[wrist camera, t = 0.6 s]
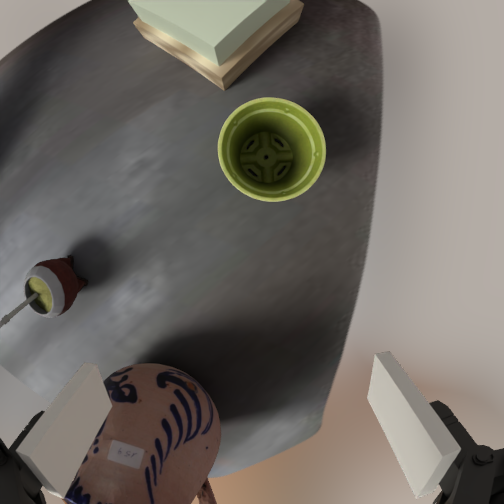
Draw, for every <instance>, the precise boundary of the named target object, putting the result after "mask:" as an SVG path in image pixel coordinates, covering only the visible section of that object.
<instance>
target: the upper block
mask: <svg viewBox="0 0 504 504" xmlns="http://www.w3.org/2000/svg"><path fill="white" fill-rule="evenodd" d="M128 2H129V4H130V5H131V6H132V8H133V9H134V11H135V12H136V13H137V15H138V16H139V18H140V19H141V20H142V21H143V22H145V23H147V24H148V25H150V26H152V27H154V28H156V29H158V30H160V31H161V32H163V33H165V34H167V35H168V36H170V37H172V38H174V39H175V40H177V41H179V42H181V43H182V44H184V45H186V46H187V47H189V48H191V49H192V50H194V51H195V52H197V53H199V54H200V55H202V56H203V57H205V58H206V59H208V60H210V61H211V62H213V63H214V64H216V65H217V66H220V65H221V64H222V63H223V62H224V61H225V60H226V59H227V58H228V57H229V56H230V55H231V54H232V53H233V52H234V51H235V50H236V49H237V48H238V47H239V46H240V45H242V44H243V43H244V42H245V41H246V40H247V39H248V38H249V37H250V36H251V35H252V34H253V33H254V32H256V31H257V30H258V29H259V28H260V27H261V26H262V25H263V24H265V23H266V22H267V21H268V20H269V19H270V18H272V17H273V16H274V15H275V14H276V13H278V12H279V11H280V10H281V9H282V8H284V7H285V6H286V5H287V4H289V3H290V0H129V1H128Z"/></svg>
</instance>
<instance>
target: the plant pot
mask: <svg viewBox="0 0 504 504" xmlns="http://www.w3.org/2000/svg"><path fill="white" fill-rule="evenodd" d="M274 139H278V140H280V141H281V142H282V143H283V145H284V147H281V146H280V144H279V143H277V142H276V141H274ZM253 140H254V141H255V142H254V143H253V144H252V145H251V146H250V147H249V148H248V150H247V149H246V147H247V145H248V144H249V143H250V142H251V141H253ZM265 155H268V159H264V156H265ZM218 156H219V161H220V165H221V168H222V170H223V172H224V174H225V175H226V177H227V178H228V180H229V181H230V182H231V183H232V184H233V185H234V186H235V187H236V188H237V189H238V190H240V191H241V192H242V193H244V194H246V195H248V196H250V197H252V198H255V199H258V200H262V201H269V202H277V201H284V200H289V199H292V198H294V197H297V196H299V195H300V194H302V193H304V192H305V191H306V190H308V189H309V188H310V187H311V186H312V185H313V184H314V183H315V181H316V180H317V179H318V177H319V175H320V173H321V171H322V169H323V166H324V163H325V158H326V143H325V139H324V135H323V132H322V130H321V128H320V126H319V124H318V123H317V121H316V120H315V119H314V117H313V116H312V115H311V114H310V113H309V112H308V111H306V110H305V109H304V108H302V107H301V106H299V105H297V104H296V103H293V102H291V101H288V100H285V99H280V98H259V99H255V100H252V101H249V102H247V103H245V104H243V105H242V106H240V107H239V108H237V109H236V110H235V111H234V112H233V113H232V114H231V115H230V116H229V117H228V119H227V120H226V122H225V123H224V125H223V127H222V129H221V132H220V136H219V141H218ZM283 166H285V167H286V168H285V169H284V171H283V173H282V174H280V175H277V173H278V172H279V171H280V170H281V169H282V168H283ZM249 168H250V169H251V170H252V171H253V172H254V173H256V174H257V175H258V176H254V175H252V174H251V173H250V172H249V171H248V169H249Z"/></svg>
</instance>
